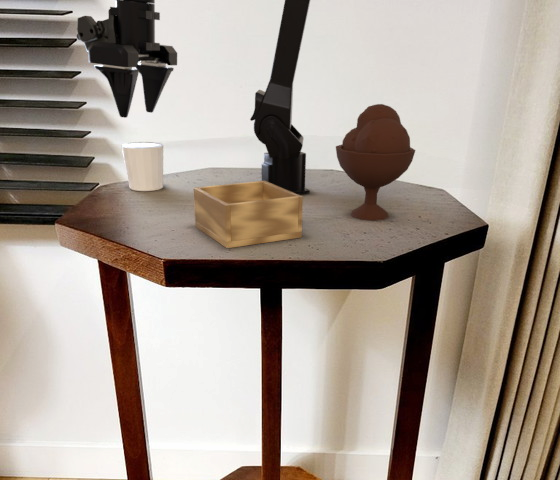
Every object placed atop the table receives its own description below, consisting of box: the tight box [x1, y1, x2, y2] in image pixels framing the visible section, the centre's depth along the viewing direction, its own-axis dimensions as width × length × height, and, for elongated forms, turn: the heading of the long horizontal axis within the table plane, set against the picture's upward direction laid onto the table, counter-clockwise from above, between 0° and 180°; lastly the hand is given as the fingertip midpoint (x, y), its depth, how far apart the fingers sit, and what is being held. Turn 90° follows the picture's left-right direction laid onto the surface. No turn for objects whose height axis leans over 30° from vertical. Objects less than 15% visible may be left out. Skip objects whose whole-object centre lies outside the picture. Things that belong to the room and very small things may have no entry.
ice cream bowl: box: [335, 103, 416, 221], centre depth 85 cm, size 11×11×15 cm
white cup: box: [121, 141, 164, 192], centre depth 102 cm, size 7×7×7 cm
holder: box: [192, 180, 304, 249], centre depth 79 cm, size 11×11×5 cm
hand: (137, 114), depth 97 cm, fingers open, 9 cm apart
